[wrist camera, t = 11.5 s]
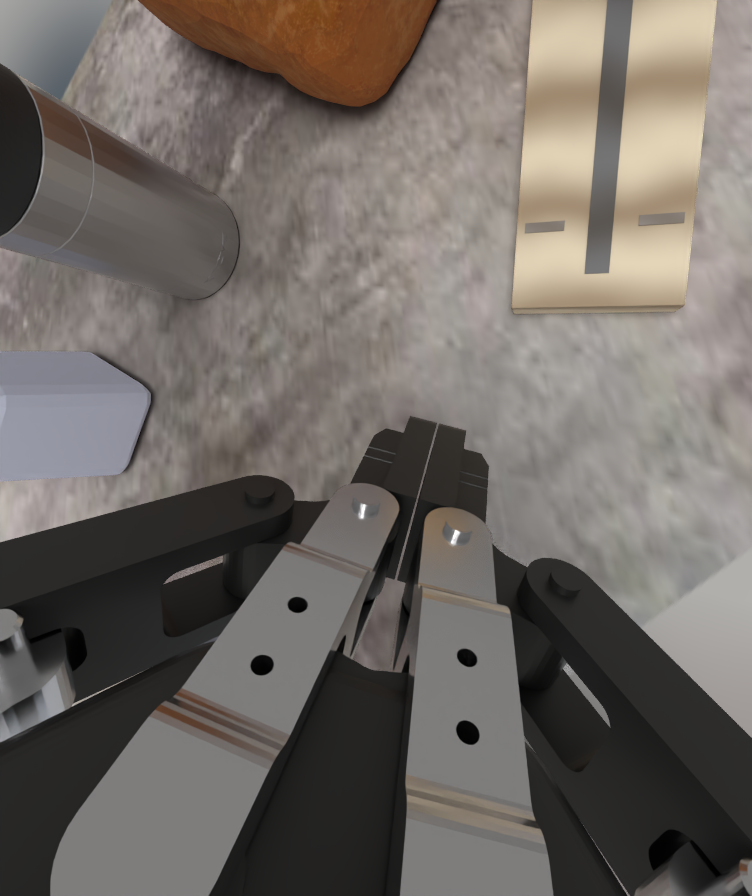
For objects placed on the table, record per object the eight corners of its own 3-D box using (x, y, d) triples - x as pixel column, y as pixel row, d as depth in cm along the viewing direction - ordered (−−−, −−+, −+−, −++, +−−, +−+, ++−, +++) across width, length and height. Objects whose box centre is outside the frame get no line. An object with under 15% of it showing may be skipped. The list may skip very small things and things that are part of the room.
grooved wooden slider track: (675, 311, 32) (685, 304, 29) (514, 314, 35) (511, 307, 33) (718, -105, 29) (733, -151, 27) (540, -60, 33) (539, -97, 30)
